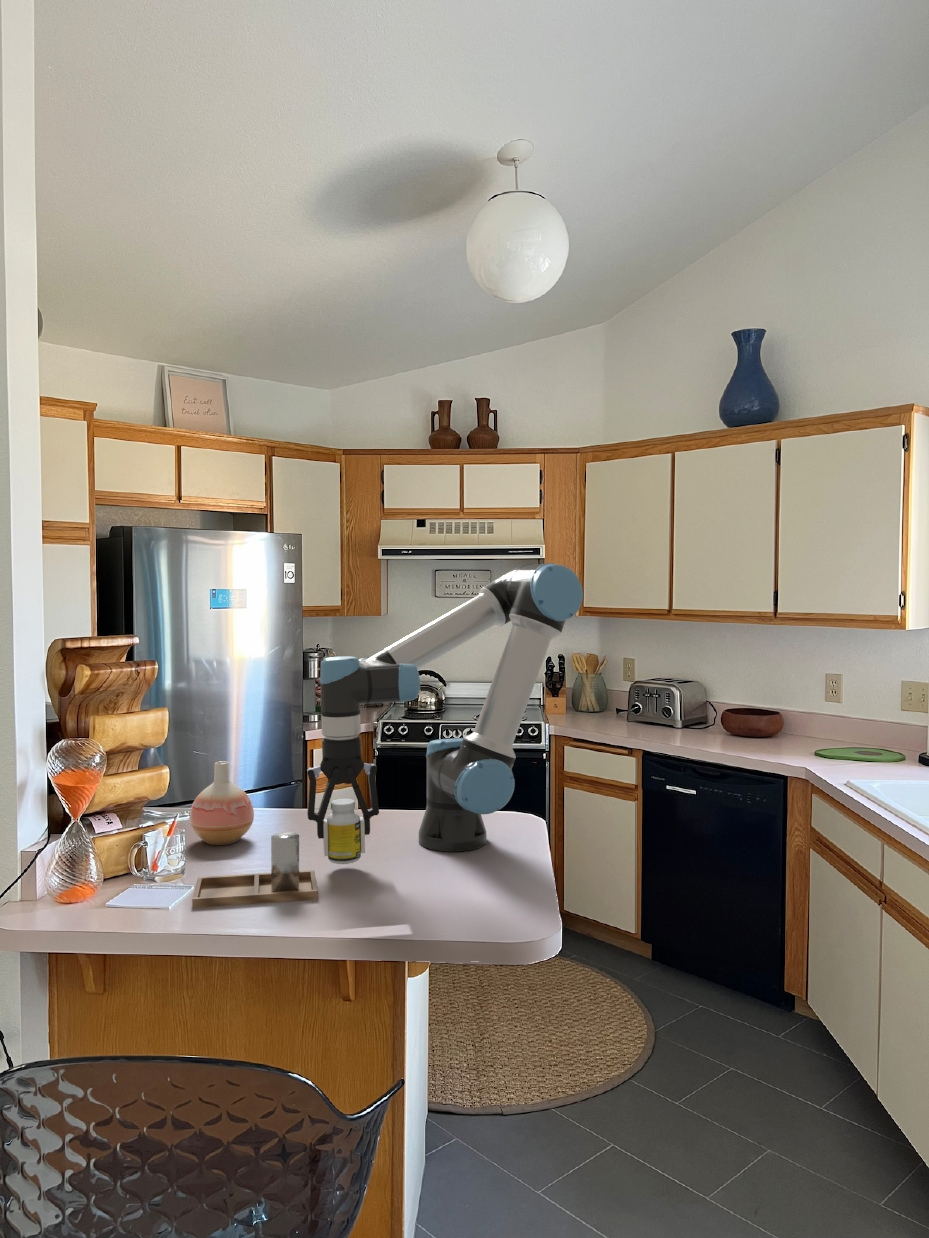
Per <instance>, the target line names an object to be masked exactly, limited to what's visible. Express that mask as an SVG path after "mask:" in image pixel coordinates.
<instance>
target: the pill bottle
mask: <svg viewBox="0 0 929 1238" xmlns="http://www.w3.org/2000/svg"><path fill="white" fill-rule="evenodd" d="M330 809H331V811H332V813H330V814H328V816H327V817H326V818H327V824H328V856H327V859H328V861H329V862H330V863H332V864H336V865H349V864H353V863H355V862H358V861H359V860H360V859H361V858H362V855H361V854H362V853H361V842H360V817H361V816H360V815H359V814H358V812H356V811H355V809H356V801H355V799H351V798H338V799H333V800H331V801H330Z"/></svg>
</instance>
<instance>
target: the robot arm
mask: <svg viewBox="0 0 929 1238" xmlns="http://www.w3.org/2000/svg"><path fill="white" fill-rule="evenodd" d="M583 591H584V590H583V585H582V584H581V581H580V579H579V577H578V576H577V574H576V573H575V572H574V571H573V570H572V569H571V568H569V567H567V566H565V565H562V564H557V563H554V562H553V563H552V562H551V563H550V562H549V563H547V562H546V563H542V564H541V563H540V564H532V563H531V564H528V563H527V564H522V565H519V566H517V567H514V568H513V569H510V570H509V571H507V572H505V573H504V574H503V575H501V576H499V577H498V578H496V579H494V580H493V581H491V582H489V583H488V584H486V585H485V586H483V587H481V588H480V589H479V591H478V595H476V596H475V597H473V598H471V599H469V600H468V601H465V602H464V603H462V604H461V605H459V606H457V607H455V608H453V609H452V610H450V611H449V612H446V613H445V614H443V615H441V616H439V617H438V618H436V619H434V620H432V621H431V622H429V623H428V624H425V625H424V626H422V627H421V628H419V629H417V630H415V631H414V632H411V633H410V634H409V635H406V636H405V637H403V638H401V639H400V640H398V641H396V642H394V643H392V644H391V645H389V646H388V647H385V648H384V649H383V650H380V651H379V652H377V653H375V654H373V655H372V656H366V657H362V658H358V657H356V656H349V655H347V656H346V655H345V656H340V655H338V656H337V655H336V656H330V657H325V658H324V659H323V660H322V661H321V662H320V678H319V684H320V702H321V703H320V704H321V706H320V707H321V715H320V716H321V734H322V736H324V737H323V738H322V739H321V746H322V747H321V749H322V750H321V751H322V752H321V754H322V758H321V759H322V760H321V762H320V764H319V765H317V766H314V767H311V766H310V767H308V768H307V769H306V771H307V776H308V779H309V783H308V801H307V812H306V813H307V819H308V820H309V821H314V822H316V830H317V831H316V832H317V833H316V834H317V838H318V839H322V841H323V842H322V843H323V846H322V848H323V856H324V857H328V824H327V819H326V818H325V817H326V814H327V812H328V811H327V810H328V808H329V804H330V803H331V799H332V795H333V793H334V792H333V791H334V789H335V787H336V786H337V785H342V784H346V785H350V784H351V787H352V789H353V792H354V795H355V797H356V800H357V802H358V803H357V804H359V805H358V806H359V808H360V811H361V813H362V816H359V817H360V842H361V854H365V853H366V841H365V840H366V837H365V836H366V835H367V836H368V835H370V834H371V818H373V817H374V816H378V815H379V814H380V809H379V808H380V807H379V799H378V790H377V781H376V777H377V772H378V767H377V765H376V763H373V762H372V763H367V762H365V761H363V759H362V740H361V739H362V738H361V736H359V735H360V734H361V732H362V731H361V705H368V704H383V703H385V704H386V703H398V702H399V703H403V702H409V701H413V700H416V699H417V698H418V696H419V694H420V691H421V690H420V688H421V683H420V682H421V678H420V677H421V676H420V673H419V670H420V669H422V668H423V667H425V666H427V665H429V664H431V663H432V662H434V661H435V660H437V659H439V658H441V657H443V656H444V655H446V654H447V653H450V652H451V651H453V650H454V649H456V648H458V647H459V646H461V645H463V644H464V643H466V642H468V641H470V640H471V639H473V638H475V637H477V636H478V635H479V634H481V633H484V632H485V631H487V630H489V629H490V628H492V627H494V626H499V627H503V626H504V625H506V624H508V623H509V622H511V624H512V625H511V626H512V627H511V630H510V632H509V635H508V638H507V640H506V644H505V646H504V648H503V651H502V654H501V657H500V659H499V662H498V665H497V668H496V670H495V673H494V674H493V675H494V676H493V679H492V681H491V683H490V686H489V689H488V692H487V695H486V697H485V700H484V701H483V702H484V703H483V706H482V708H481V710H480V714H479V716H478V718H477V722H476V724H475V727H474V730H473V732H472V733H470V734H467V735H465V736H464V737H460V738H459V737H457V738H443V739H441V738H439V739H434V740H430V741H429V742H428V744H427V746H426V747H427V748H426V754H425V757H426V807H425V808H426V809H425V811H424V813H423V817H422V820H421V823H420V827H419V829H418V844H419V845H420V846H421V847H424V848H426V849H429V850H433V851H434V850H435V851H440V852H463V851H464V852H465V851H472V850H476V849H479V848H481V847H483V846H485V845H486V844H487V836H488V835H487V829H486V826H485V823H484V820H483V817H482V815H490V814H493V813H496V812H498V811H500V810H501V809H503V808H504V807H505V806H506V805H507V804H508V803H509V801H510V800H511V798H512V796H513V793H514V791H515V786H516V785H515V778H514V773H513V770H512V769H513V767H514V764H515V761H516V757H517V756H516V753H515V751H514V748H513V745H514V742H515V739H516V736H517V733H518V732H519V728H520V725H521V723H522V720H523V718H524V716H525V715H524V714H525V712H526V709H527V707H528V703H529V701H530V698H531V695H532V692H533V690H534V687H535V684H536V682H537V679H538V676H539V674H540V671H541V669H542V665H543V663H544V659H545V657H546V654H547V651H548V649H549V646H550V644H551V641H552V639H554V638H558V637H559V636H561V634H562V632H563V628H564V625H565V624H566V621H567V620H569V619H571V618H573V617H574V616H575V615H576V614H577V613H578V611H579V610H580V608H581V607H582V603H583V598H584V592H583ZM362 770H364V773H365V774H366V775H367V779H368V780H367V782H368V789H369V797H370V807H371V808H368V807H367V804H366V800H365V799H364V795H363V794H362V791H361V788H360V785H359V782H358V780H357V778H358V777H359V776H360V774H361V772H362ZM320 773H323V774H324V776H325V778H326V779H327V781H326V785H325V789H324V792H323V796H322V797H321V798H322V799H321V802H320V804H319V807H318V812H315V809H316V796H317V795H316V794H317V779H319V778H320Z"/></svg>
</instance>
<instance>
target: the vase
mask: <svg viewBox="0 0 929 1238" xmlns="http://www.w3.org/2000/svg"><path fill="white" fill-rule="evenodd" d="M213 776H214V778H213V782H212V783H211V784H208V786H207V787H206V788H205V787H204V789H203V790H202V791H201V792H199V794H198V795H197V796H196V798H195V799H194V800H193V802H192V805H191V808H190V812H189V824H190V827H191V829H192V831H193V832H194V834H195V835H196V836H197V837H198V838H200V839H201V840H202V841H204V842H205V843H206V844H208V845H211V846H227V845H231V844H235V843H237V842H238V841H240V839H241V838H242V837H243V836H244V835H245V834H247V833H248V831H249V830H250V829H251V826H252V825H253V822H254V817H255V812H254V811H255V810H254V806H253V802H252V800H251V798H250V796H249V795H248V794H247V793H246V792H245V791H244V790H243V789H242V787H239V786H238V785H237V784H235V783H233V782H231V780H230V763H229V761H226V760H224V761H222V760H221V761H216V762H214V775H213Z"/></svg>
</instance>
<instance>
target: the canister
mask: <svg viewBox="0 0 929 1238" xmlns="http://www.w3.org/2000/svg"><path fill="white" fill-rule="evenodd" d="M270 843H271V844H270V845H271V846H270V847H271V848H270V849H271V850H270V851H271V852H270V853H271V854H270V855H271V856H270V859H271V861H270V865H271V866H270V867H271V868H270V869H271V871H270V873H271V892H285V891H299V871H300V834H299V833H296V832H290V831H288V832H287V831H284V832H278V833H275V834H274V833H273V834H272V835H271V839H270Z"/></svg>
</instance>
